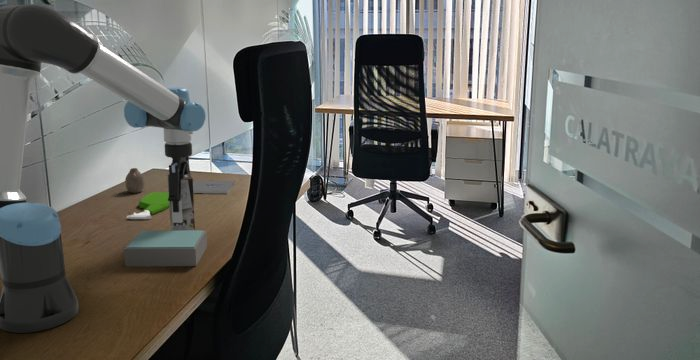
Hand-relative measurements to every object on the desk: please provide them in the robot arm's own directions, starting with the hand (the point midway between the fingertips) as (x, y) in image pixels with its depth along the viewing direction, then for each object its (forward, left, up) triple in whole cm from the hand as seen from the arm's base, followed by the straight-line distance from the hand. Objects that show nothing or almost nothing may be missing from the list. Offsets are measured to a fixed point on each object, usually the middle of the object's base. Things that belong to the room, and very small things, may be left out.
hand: (182, 216), depth 174 cm
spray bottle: (+26, +17, -6) cm, 31 cm away
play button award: (+53, +4, -6) cm, 54 cm away
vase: (+48, +29, -6) cm, 56 cm away
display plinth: (-18, 0, -5) cm, 19 cm away
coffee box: (0, 0, -4) cm, 4 cm away
